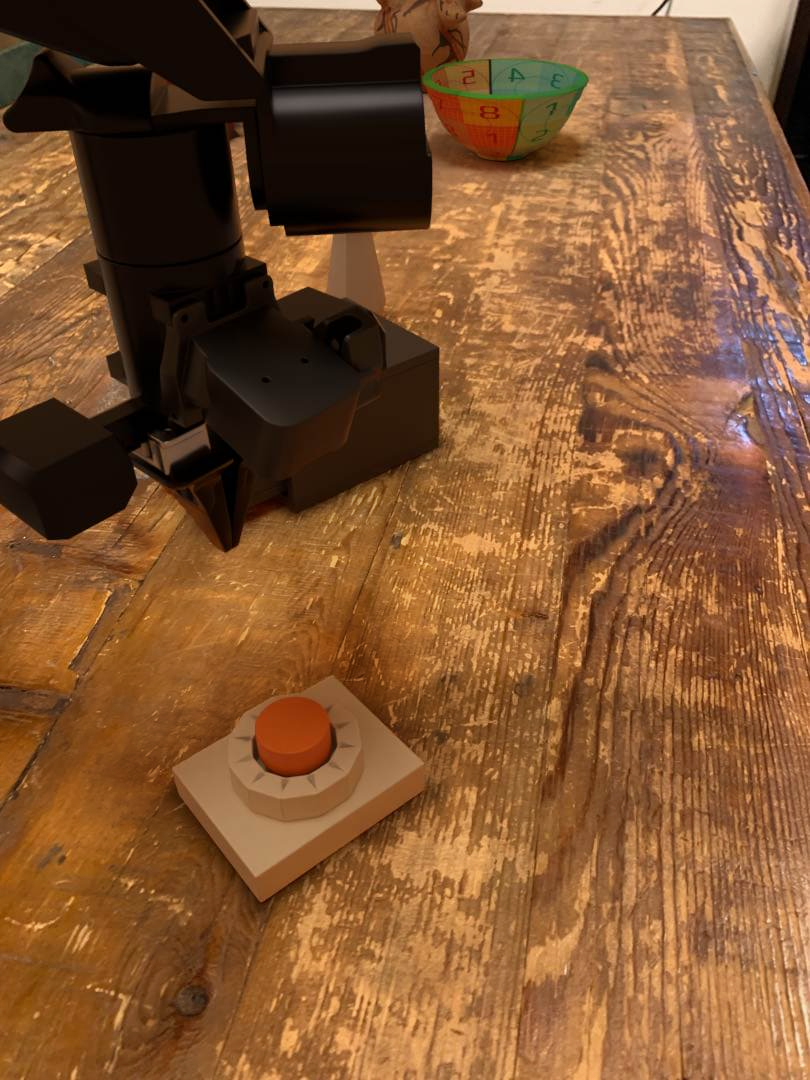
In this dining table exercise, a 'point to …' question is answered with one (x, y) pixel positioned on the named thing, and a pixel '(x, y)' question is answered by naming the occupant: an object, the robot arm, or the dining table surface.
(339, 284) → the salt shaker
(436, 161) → the dining table surface
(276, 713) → the button
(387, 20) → the ceramic vessel
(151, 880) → the dining table surface
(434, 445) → the drawer cabinet
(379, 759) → the control block
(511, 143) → the bowl
